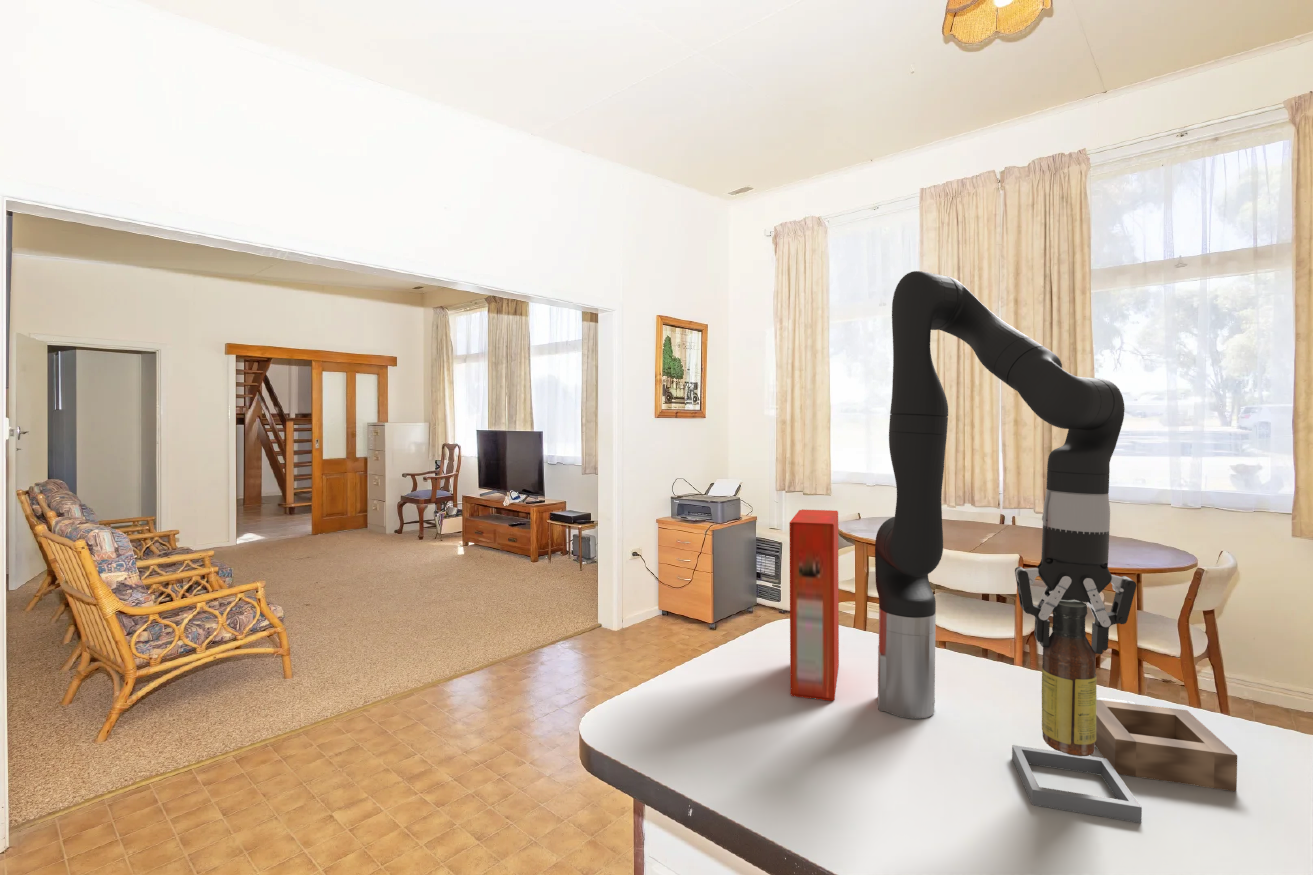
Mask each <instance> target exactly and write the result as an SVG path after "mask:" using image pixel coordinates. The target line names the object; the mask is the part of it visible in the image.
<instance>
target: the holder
mask: <svg viewBox="0 0 1313 875" xmlns="http://www.w3.org/2000/svg"><path fill="white" fill-rule="evenodd" d="M1095 749H1097V750H1098V752H1099V753H1100V754H1101V756H1102V758H1107V759H1108V761H1109V762H1110V764H1111V765H1112V766H1113V768H1114V769H1115V771H1116V772H1117V773H1118V775H1121V776H1122V775H1123V776H1128V777H1135V778H1136V777H1137V778H1142V779H1148V780H1156V781H1162V782H1163V781H1164V782H1170V783H1175V784H1184V785H1190V786H1196V787H1202V788H1203V787H1204V788H1209V789H1217V790H1223V791H1230V792H1235V793H1236V792H1237V791H1238V790H1237V787H1238V786H1237V785H1238V784H1237V781H1238V780H1237V778H1238V754H1237V753H1236V752H1234V751H1233V750H1232V749H1231V748H1230V747H1229V746H1228V745H1227V744H1225V743H1224V742H1223V741H1222V740H1221V739H1220V738H1219V737H1218V736H1216V735H1215V734H1214V732H1212V731H1211V730H1210V729H1209V728H1208V727H1206V725H1204V724H1203V723H1202V722H1201V721H1200V720H1199V719H1198V718H1196V717H1195V715H1193V714H1192V713H1191V712H1190V711H1189V710H1187V709H1180V708H1171V707H1164V706H1162V707H1161V706H1154V705H1145V704H1138V703H1136V704H1130V703H1122V702H1113V701H1105V700H1097V703H1096V741H1095Z"/></svg>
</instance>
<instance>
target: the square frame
mask: <svg viewBox="0 0 1313 875" xmlns="http://www.w3.org/2000/svg"><path fill="white" fill-rule="evenodd" d="M1011 758H1012V761H1013V764H1014V766H1015V768H1016V770H1017V773H1018V776H1019V777H1020V779H1021V782H1022V784H1023V787H1024V788H1025V791H1026V794H1027V797H1028V798H1029V801H1030V802H1031V805H1032V806H1038V807H1044V808H1050V809H1054V810H1055V809H1056V810H1062V811H1065V812H1066V811H1068V812H1073V813H1078V814H1079V813H1080V814H1084V815H1085V814H1086V815H1091V816H1097V817H1103V818H1109V819H1115V820H1119V821H1120V820H1121V821H1126V822H1127V821H1128V822H1131V823H1139V824H1142V819H1143V818H1142V812H1143V807H1142V806H1141V804H1140V803H1139V801H1138V800H1137V799H1136V797H1135V796H1134V794H1133V793H1132V792H1131V790H1130V789H1129V787H1128V786H1127V785H1126V783H1125V781H1124V780H1123V779H1122V778H1121V776H1120V774H1118V773H1117V772H1116V771H1115V769H1114V768H1113V766H1112V765H1111V764H1110V762H1109V761H1108V759H1107V758H1103V757H1099V756H1092V755H1089V756H1073V755H1069V754H1067V753H1063V752H1060V751H1057V750H1049V749H1043V748H1037V747H1029V746H1022V745H1015V744H1013V745H1011ZM1030 765H1034V766H1040V767H1048V768H1054V769H1059V770H1067V771H1074V772H1080V773H1084V774H1085V773H1086V774H1091V775H1098V776H1099V775H1100V776H1101V777H1102V779H1103V780H1104V782H1105V783H1106V784H1107V786H1108V788H1109V790H1110V791H1111V793H1112V794H1113V796H1114V797H1115V798H1110V797H1105V796H1098V795H1093V794H1087V793H1079V792H1074V791H1073V792H1072V791H1068V790H1067V791H1066V790H1061V789H1055V788H1049V787H1042V786H1039V784H1038V781H1037V779H1036V778H1035V775H1034V773H1033V771H1032V769H1031V766H1030Z"/></svg>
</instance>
